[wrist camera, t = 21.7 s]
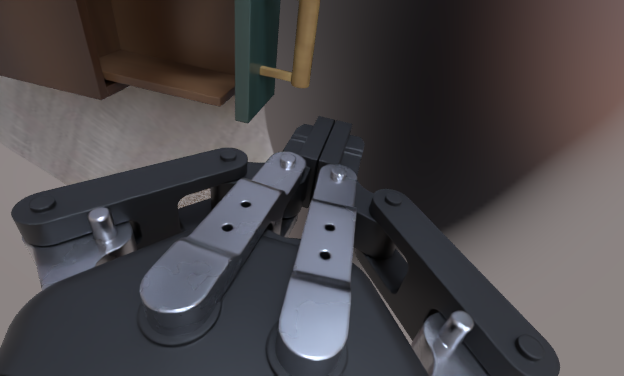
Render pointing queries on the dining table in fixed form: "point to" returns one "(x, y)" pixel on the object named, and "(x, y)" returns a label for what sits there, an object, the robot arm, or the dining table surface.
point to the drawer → (201, 48)
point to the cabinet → (52, 47)
